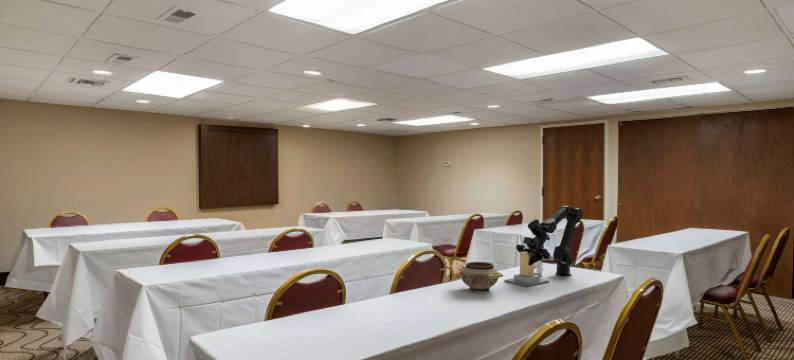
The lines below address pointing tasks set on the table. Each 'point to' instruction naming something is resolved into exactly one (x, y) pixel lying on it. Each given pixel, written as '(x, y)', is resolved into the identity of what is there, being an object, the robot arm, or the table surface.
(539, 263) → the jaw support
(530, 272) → the tan rectangular block
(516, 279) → the housing plate
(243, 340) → the table surface
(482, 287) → the ceramic bowl
